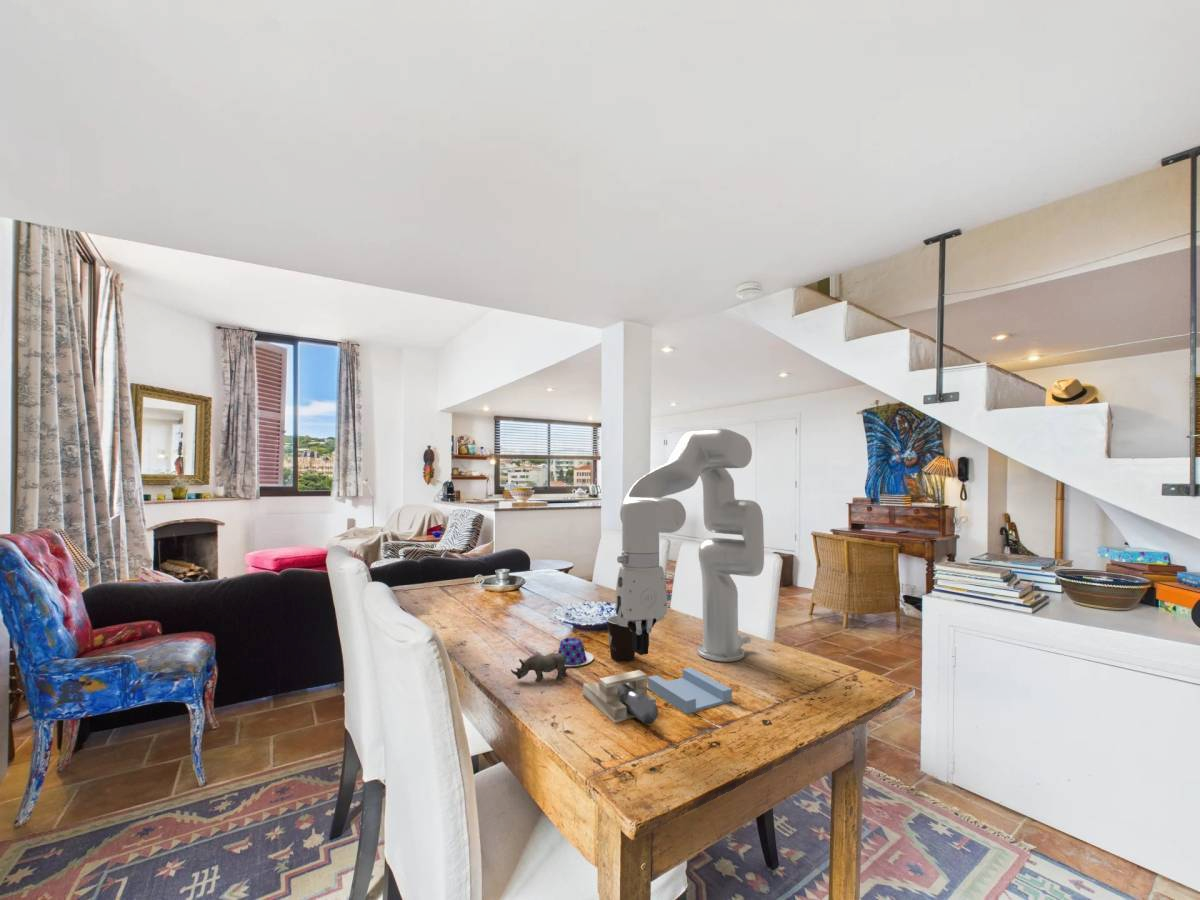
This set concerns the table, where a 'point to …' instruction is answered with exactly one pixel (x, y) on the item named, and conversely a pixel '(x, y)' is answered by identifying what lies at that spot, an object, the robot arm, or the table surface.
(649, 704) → the axle
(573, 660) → the pudding
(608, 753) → the table surface
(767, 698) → the table surface
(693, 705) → the cradle
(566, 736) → the table surface
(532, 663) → the rhino figurine
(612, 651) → the coffee mug
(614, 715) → the bracket
